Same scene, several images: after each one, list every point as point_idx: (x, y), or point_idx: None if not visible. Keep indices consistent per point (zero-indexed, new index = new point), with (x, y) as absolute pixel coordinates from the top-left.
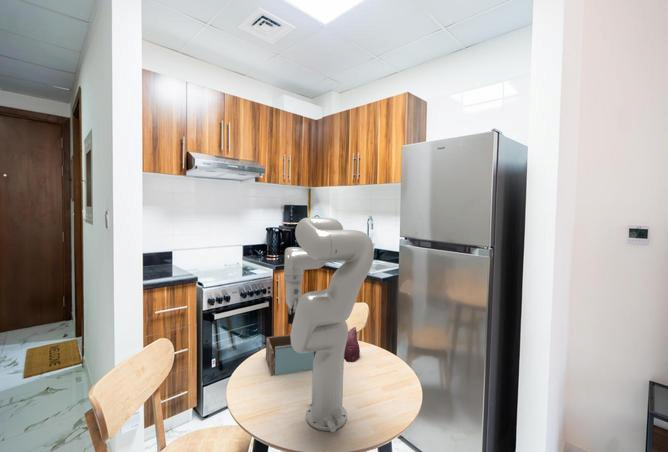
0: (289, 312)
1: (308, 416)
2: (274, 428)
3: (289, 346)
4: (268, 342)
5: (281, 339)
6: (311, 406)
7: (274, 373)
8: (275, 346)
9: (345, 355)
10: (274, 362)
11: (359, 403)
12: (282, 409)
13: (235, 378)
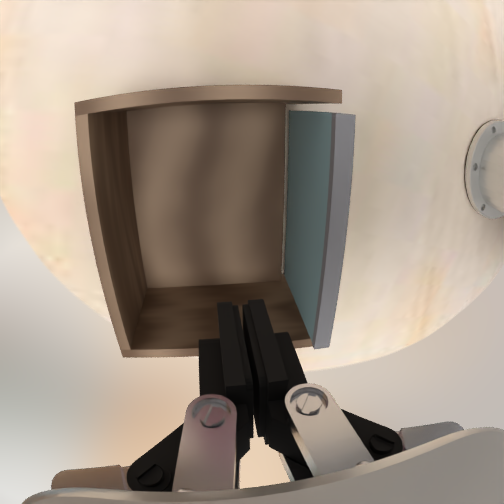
0: (285, 456)
1: (493, 215)
2: (469, 282)
3: (339, 282)
4: (192, 354)
5: (117, 275)
6: (476, 197)
7: (280, 274)
8: (132, 286)
9: None
10: (189, 267)
11: (485, 64)
12: (437, 261)
13: None
